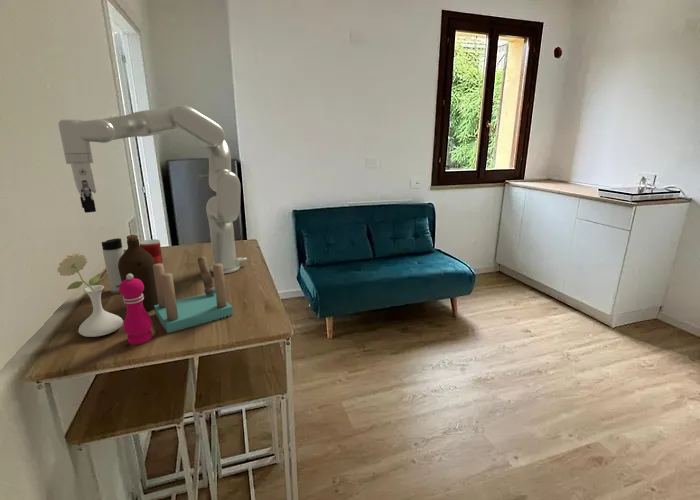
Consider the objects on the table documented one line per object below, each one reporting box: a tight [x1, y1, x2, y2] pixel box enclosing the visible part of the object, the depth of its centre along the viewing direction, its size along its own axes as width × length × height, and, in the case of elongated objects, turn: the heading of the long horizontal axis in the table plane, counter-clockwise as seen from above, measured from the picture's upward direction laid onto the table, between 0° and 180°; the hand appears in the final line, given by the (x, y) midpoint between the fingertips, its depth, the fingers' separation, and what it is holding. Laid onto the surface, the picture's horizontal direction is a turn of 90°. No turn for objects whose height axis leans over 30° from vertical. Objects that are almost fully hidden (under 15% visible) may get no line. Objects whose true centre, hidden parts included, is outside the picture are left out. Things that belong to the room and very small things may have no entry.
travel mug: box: [101, 237, 125, 294], centre depth 144 cm, size 6×7×20 cm
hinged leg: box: [197, 255, 216, 295], centre depth 135 cm, size 3×3×14 cm
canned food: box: [139, 238, 164, 264], centre depth 172 cm, size 8×8×11 cm
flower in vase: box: [56, 252, 124, 338], centre depth 113 cm, size 13×11×25 cm
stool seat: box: [153, 263, 234, 334], centre depth 125 cm, size 20×16×17 cm
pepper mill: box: [119, 274, 153, 346], centre depth 109 cm, size 7×7×20 cm
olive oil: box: [118, 234, 159, 313], centre depth 129 cm, size 11×11×25 cm
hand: (89, 209), depth 135 cm, fingers open, 9 cm apart
